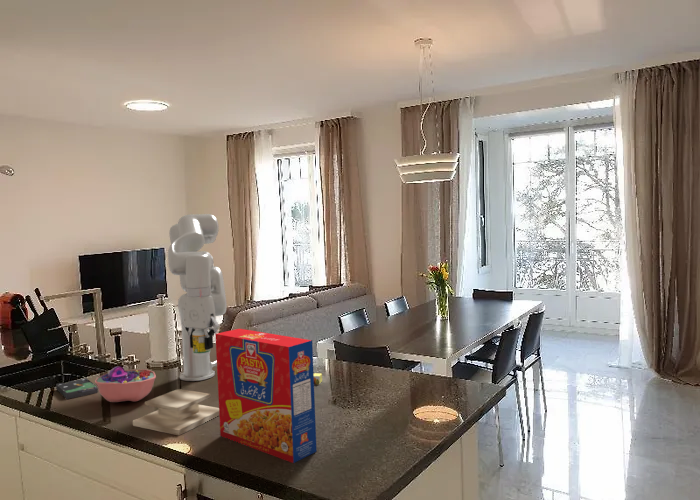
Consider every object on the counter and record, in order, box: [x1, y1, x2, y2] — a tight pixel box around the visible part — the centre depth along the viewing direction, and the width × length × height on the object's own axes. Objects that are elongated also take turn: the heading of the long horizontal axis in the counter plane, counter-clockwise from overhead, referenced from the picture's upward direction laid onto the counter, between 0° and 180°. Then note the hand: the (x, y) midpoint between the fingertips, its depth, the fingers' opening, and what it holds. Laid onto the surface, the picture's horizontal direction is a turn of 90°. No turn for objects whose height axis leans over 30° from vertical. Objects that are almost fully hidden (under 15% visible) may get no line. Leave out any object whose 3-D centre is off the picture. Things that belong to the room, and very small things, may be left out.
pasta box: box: [214, 328, 318, 464], centre depth 142 cm, size 28×8×28 cm, turn 50°
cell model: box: [94, 365, 157, 403], centre depth 181 cm, size 17×20×11 cm
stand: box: [132, 388, 219, 436], centre depth 162 cm, size 18×18×6 cm
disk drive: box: [55, 377, 99, 400], centre depth 194 cm, size 10×3×15 cm
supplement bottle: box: [192, 328, 211, 356], centre depth 178 cm, size 5×5×10 cm
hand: (201, 347), depth 178 cm, fingers closed on supplement bottle, 5 cm apart
